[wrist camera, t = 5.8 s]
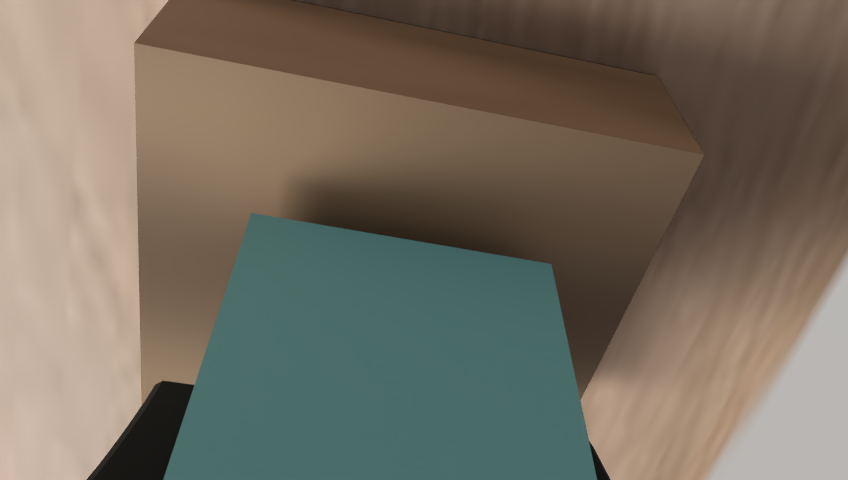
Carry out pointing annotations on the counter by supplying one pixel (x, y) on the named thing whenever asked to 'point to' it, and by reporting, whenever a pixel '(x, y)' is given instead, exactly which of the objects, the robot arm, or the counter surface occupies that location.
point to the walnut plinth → (390, 158)
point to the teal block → (382, 365)
